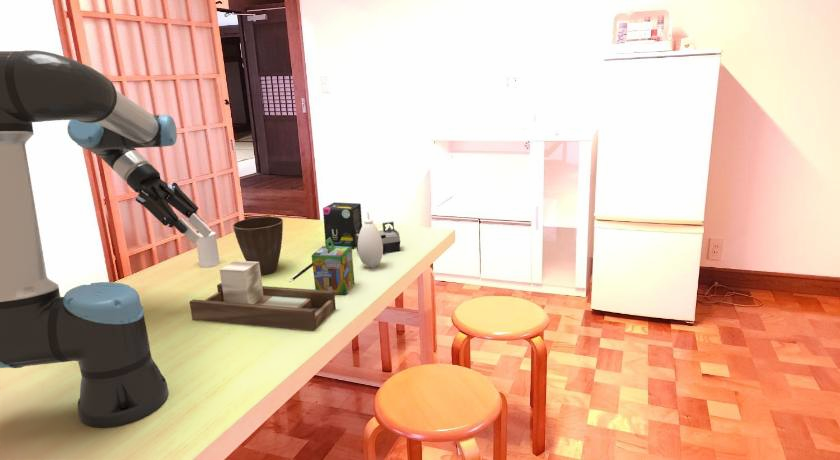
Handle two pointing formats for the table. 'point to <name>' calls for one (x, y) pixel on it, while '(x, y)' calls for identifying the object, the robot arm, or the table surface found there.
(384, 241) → the camera
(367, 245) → the grey rubber bulb
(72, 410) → the table surface
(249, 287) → the cream block
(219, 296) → the tray
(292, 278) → the pen
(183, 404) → the table surface
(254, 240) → the plant pot
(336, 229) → the tampon box
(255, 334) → the table surface
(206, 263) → the candle
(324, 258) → the chalk box
